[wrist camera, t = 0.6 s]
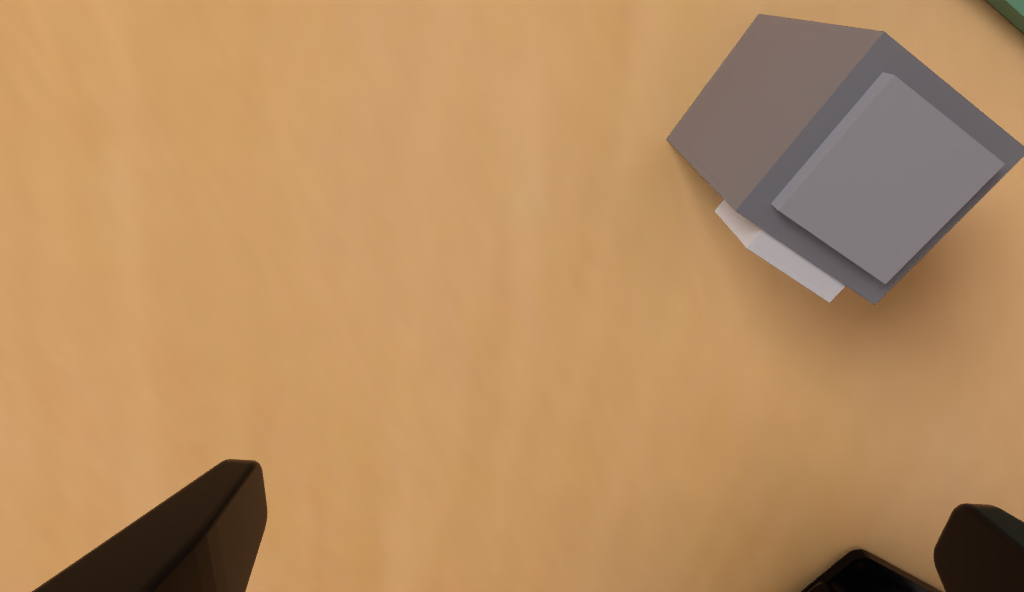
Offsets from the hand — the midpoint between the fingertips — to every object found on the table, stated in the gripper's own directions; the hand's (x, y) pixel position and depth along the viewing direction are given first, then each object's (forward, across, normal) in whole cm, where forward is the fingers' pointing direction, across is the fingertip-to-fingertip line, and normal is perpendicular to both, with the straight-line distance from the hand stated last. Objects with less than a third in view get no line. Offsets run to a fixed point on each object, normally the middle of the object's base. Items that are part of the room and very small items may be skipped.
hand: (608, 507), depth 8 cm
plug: (+13, -6, -3) cm, 14 cm away
